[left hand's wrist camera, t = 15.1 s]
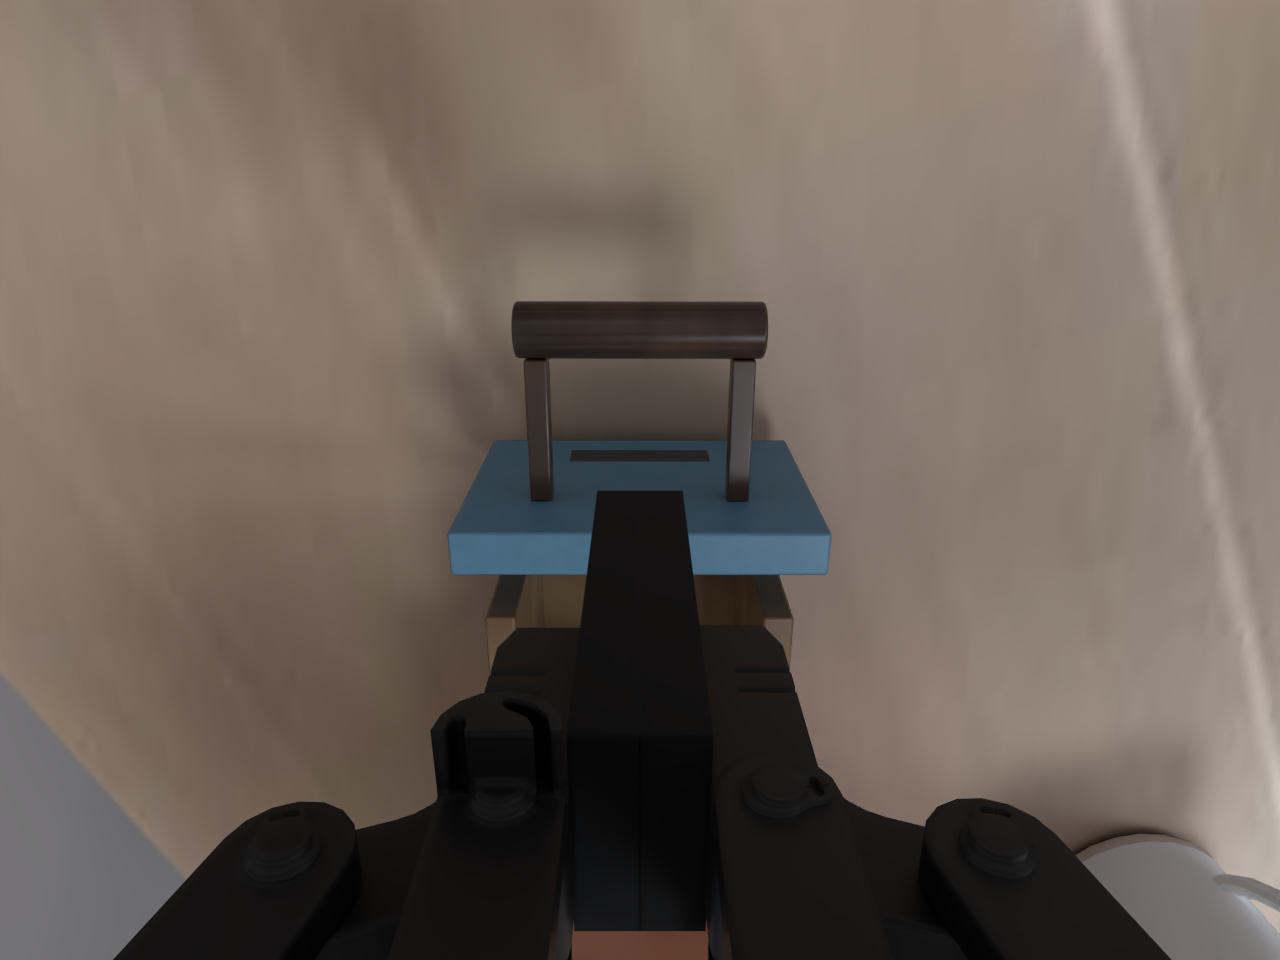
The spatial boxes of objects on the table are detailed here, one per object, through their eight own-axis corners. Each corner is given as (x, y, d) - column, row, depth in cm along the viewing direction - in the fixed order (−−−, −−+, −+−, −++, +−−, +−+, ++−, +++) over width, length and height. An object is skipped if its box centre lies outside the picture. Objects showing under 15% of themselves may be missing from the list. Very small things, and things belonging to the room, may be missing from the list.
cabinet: (496, 658, 32) (444, 843, 23) (781, 658, 32) (833, 844, 23) (517, 944, 37) (481, 1178, 29) (760, 944, 37) (796, 1178, 29)
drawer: (482, 274, 25) (426, 318, 19) (796, 274, 25) (853, 318, 19) (516, 774, 32) (483, 937, 26) (762, 774, 32) (794, 937, 26)
